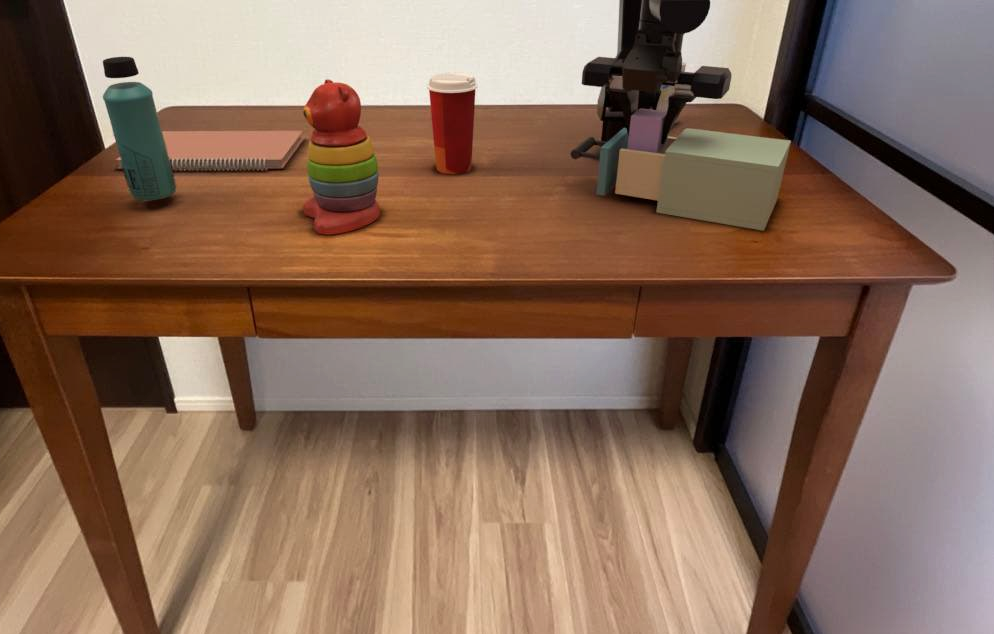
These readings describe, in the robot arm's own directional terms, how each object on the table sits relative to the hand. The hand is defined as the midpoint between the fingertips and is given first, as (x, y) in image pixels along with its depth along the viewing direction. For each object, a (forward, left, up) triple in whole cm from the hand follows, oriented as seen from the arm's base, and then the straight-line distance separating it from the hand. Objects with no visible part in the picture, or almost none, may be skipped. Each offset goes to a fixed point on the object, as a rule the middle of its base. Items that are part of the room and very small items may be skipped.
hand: (646, 141), depth 100 cm
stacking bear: (-34, -26, -8) cm, 44 cm away
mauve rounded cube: (0, 0, -1) cm, 1 cm away
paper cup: (-30, -2, -8) cm, 31 cm away
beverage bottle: (-62, -34, -8) cm, 71 cm away
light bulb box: (-8, +34, -8) cm, 36 cm away
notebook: (-70, -14, -8) cm, 72 cm away
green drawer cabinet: (+11, 0, -8) cm, 13 cm away
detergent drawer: (-1, 0, -7) cm, 7 cm away
